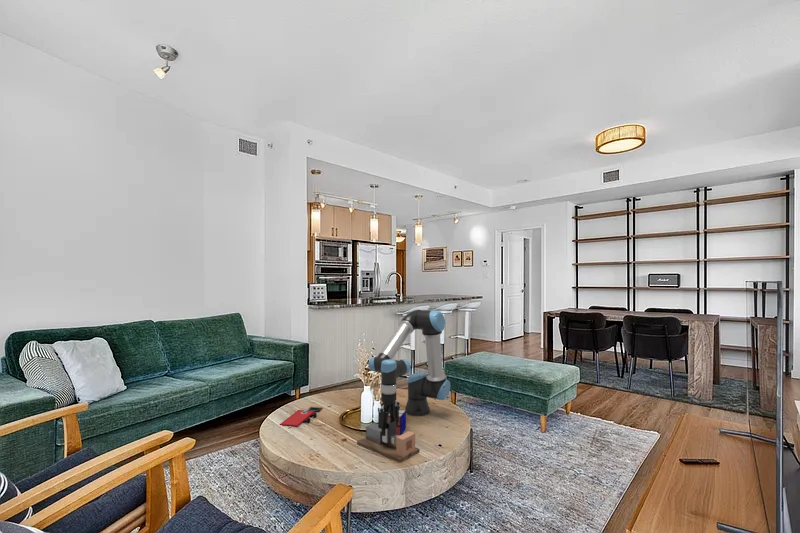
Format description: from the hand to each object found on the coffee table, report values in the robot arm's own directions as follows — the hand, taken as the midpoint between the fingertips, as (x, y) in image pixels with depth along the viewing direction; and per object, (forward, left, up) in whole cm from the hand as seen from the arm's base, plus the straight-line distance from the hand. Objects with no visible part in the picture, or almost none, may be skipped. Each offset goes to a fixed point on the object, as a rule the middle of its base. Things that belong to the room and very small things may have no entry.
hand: (388, 439), depth 188 cm
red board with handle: (+3, -67, -5) cm, 67 cm away
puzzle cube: (-17, -12, -5) cm, 22 cm away
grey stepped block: (0, -8, -3) cm, 9 cm away
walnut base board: (0, -1, -4) cm, 4 cm away
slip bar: (0, -4, -1) cm, 4 cm away
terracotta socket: (0, +11, -3) cm, 11 cm away
